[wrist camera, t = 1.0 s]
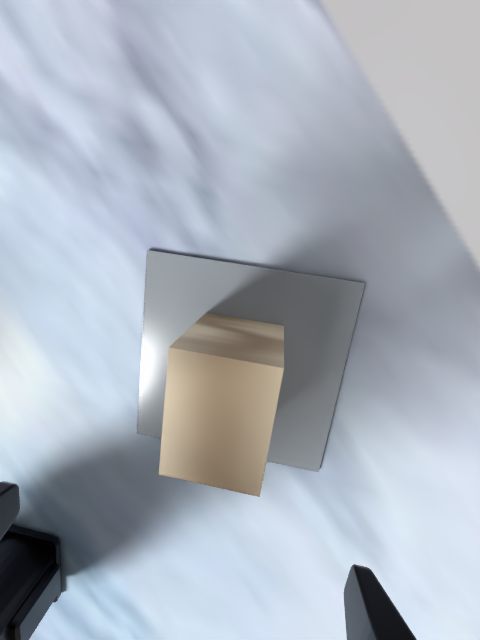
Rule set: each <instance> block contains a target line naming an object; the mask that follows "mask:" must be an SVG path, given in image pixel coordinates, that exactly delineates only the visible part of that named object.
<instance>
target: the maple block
mask: <svg viewBox="0 0 480 640" xmlns="http://www.w3.org/2000/svg"><path fill="white" fill-rule="evenodd" d="M283 371H284V326H282V325H276V324H270V323H264V322H259V321H253V320H247V319H241V318H235V317H229V316H223V315H217V314H211V313H205V314H204V315H203V316H202V317H201V318H200V319H199V320H198V321H196V322H195V323H194V324H193V325H192V326H191V327H190V328H189V329H188V330H187V331H186V332H185V333H184V334H183V335H181V336H180V337H179V338H178V339H177V340H176V341H175V342H174V343H173V344H172V345H171V346H170V347H169V352H168V364H167V376H166V389H165V401H164V414H163V426H162V438H161V451H160V463H159V474H160V475H164V476H169V477H173V478H178V479H182V480H187V481H191V482H196V483H200V484H205V485H209V486H213V487H218V488H222V489H227V490H231V491H236V492H240V493H245V494H249V495H254V496H258V497H260V492H261V487H262V481H263V476H264V471H265V466H266V460H267V455H268V450H269V444H270V439H271V434H272V429H273V423H274V418H275V413H276V408H277V402H278V397H279V392H280V386H281V381H282V376H283Z"/></svg>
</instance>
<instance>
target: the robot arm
mask: <svg viewBox="0 0 480 640" xmlns="http://www.w3.org/2000/svg"><path fill="white" fill-rule="evenodd" d="M19 509H20V500H19V487H18V485H17V484H14V483H10V482H0V640H29V638H30V637H31V635H32V634H33V632H34V631H35V629H36V628H37V626H38V624H39V623H40V621H41V620H42V618H43V617H44V615H45V613H46V612H47V610H48V609H49V607H50V606H51V604H52V602H56V601H57V600H58V598H59V597H60V595H61V578H60V542H59V540H58V539H57V538H56V537H54V536H50V535H46V534H42V533H38V532H34V531H30V530H26V529H22V528H18V527H14V526H11V524H12V523H13V521H14V520H15V519H16V517H17V515H18V513H19ZM344 606H345V619H346V632H347V640H417V639H416V638H415V636H414V635H413V633H412V632H411V630H410V629H409V627H408V626H407V624H406V623H405V621H404V619H403V618H402V616H401V615H400V613H399V612H398V610H397V609H396V607H395V606H394V604H393V603H392V601H391V600H390V598H389V596H388V595H387V593H386V592H385V590H384V589H383V587H382V586H381V584H380V583H379V581H378V580H377V578H376V577H375V575H374V573H373V572H372V571H371V570H370V569H369V568H367V567H364V566H359V565H352V567H351V569H350V572H349V575H348V578H347V582H346V585H345V589H344Z"/></svg>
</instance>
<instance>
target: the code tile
mask: <svg viewBox="0 0 480 640" xmlns="http://www.w3.org/2000/svg"><path fill="white" fill-rule="evenodd" d="M364 286H365V283H362V282H356V281H349V280H343V279H336V278H329V277H323V276H316V275H310V274H303V273H296V272H290V271H283V270H277V269H270V268H264V267H257V266H250V265H244V264H237V263H231V262H224V261H217V260H211V259H204V258H198V257H191V256H185V255H178V254H171V253H165V252H158V251H152V250H147V258H146V276H145V294H144V312H143V330H142V348H141V366H140V384H139V402H138V420H137V434H141V435H146V436H150V437H155V438H160V439H161V438H162V426H163V414H164V401H165V389H166V376H167V364H168V352H169V347H170V346H171V345H172V344H173V343H174V342H175V341H176V340H177V339H178V338H179V337H180V336H181V335H183V334H184V333H185V332H186V331H187V330H188V329H189V328H190V327H191V326H192V325H193V324H194V323H195V322H196V321H198V320H199V319H200V318H201V317H202V316H203V315H204V314H205V313H211V314H217V315H223V316H229V317H235V318H241V319H247V320H253V321H259V322H264V323H270V324H276V325H282V326H284V371H283V376H282V381H281V386H280V392H279V397H278V402H277V408H276V413H275V418H274V423H273V429H272V434H271V439H270V444H269V450H268V455H267V460H266V461H268V462H273V463H278V464H282V465H287V466H292V467H296V468H301V469H306V470H311V471H315V472H319V469H320V465H321V461H322V457H323V453H324V449H325V445H326V441H327V436H328V432H329V428H330V424H331V420H332V416H333V412H334V408H335V404H336V400H337V396H338V392H339V388H340V384H341V380H342V376H343V371H344V367H345V363H346V359H347V355H348V351H349V347H350V343H351V339H352V335H353V331H354V327H355V323H356V319H357V315H358V311H359V306H360V302H361V298H362V294H363V290H364Z"/></svg>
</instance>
